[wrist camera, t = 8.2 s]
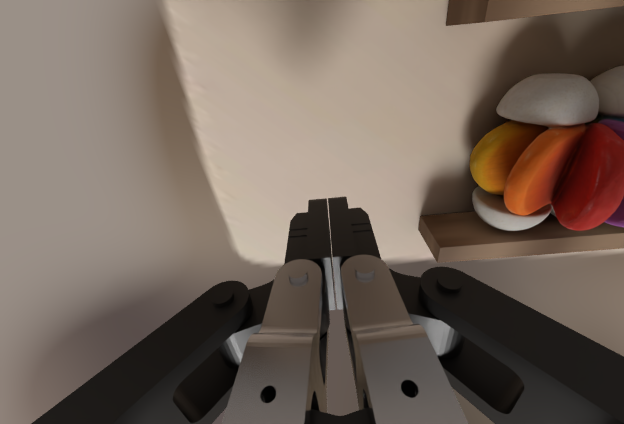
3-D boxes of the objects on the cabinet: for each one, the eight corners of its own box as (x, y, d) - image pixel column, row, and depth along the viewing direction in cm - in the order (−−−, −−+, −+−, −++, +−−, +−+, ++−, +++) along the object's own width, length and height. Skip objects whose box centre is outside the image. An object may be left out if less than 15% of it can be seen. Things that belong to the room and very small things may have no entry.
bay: (751, -42, 12) (892, -67, 9) (606, 213, 19) (660, 245, 17) (450, -5, 13) (492, -19, 10) (418, 229, 20) (437, 262, 17)
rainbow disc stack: (473, 75, 15) (589, 102, 9) (660, 57, 14) (921, 71, 8) (446, 208, 19) (510, 288, 13) (588, 197, 19) (723, 273, 13)
